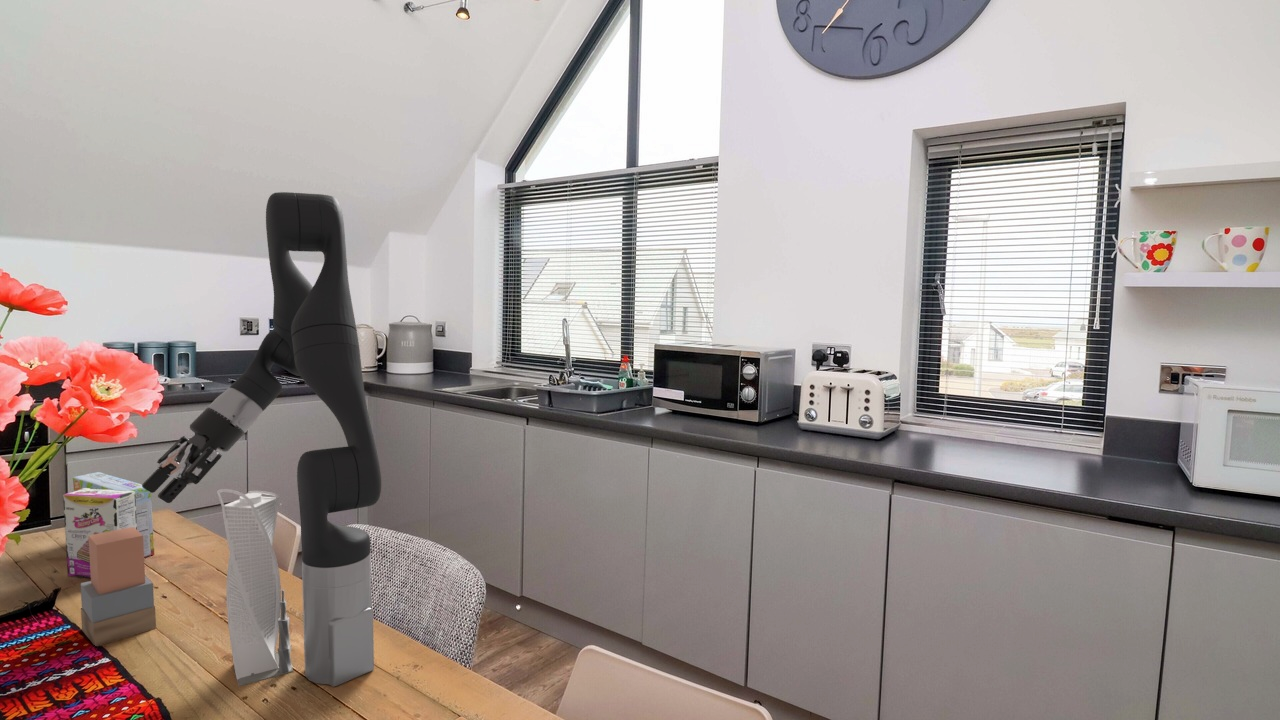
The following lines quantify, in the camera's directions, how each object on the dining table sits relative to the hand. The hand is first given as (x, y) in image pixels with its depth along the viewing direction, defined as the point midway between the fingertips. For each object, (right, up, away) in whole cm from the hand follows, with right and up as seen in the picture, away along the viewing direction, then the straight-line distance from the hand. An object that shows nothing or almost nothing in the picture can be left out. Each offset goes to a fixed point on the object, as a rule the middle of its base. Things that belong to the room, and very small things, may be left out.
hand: (154, 495), depth 115 cm
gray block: (-4, -18, -3) cm, 18 cm away
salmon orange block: (-4, -14, -3) cm, 15 cm away
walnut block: (-4, -22, -3) cm, 22 cm away
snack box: (-31, -18, +31) cm, 47 cm away
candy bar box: (-23, -19, +19) cm, 35 cm away
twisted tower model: (+25, -24, -13) cm, 36 cm away
